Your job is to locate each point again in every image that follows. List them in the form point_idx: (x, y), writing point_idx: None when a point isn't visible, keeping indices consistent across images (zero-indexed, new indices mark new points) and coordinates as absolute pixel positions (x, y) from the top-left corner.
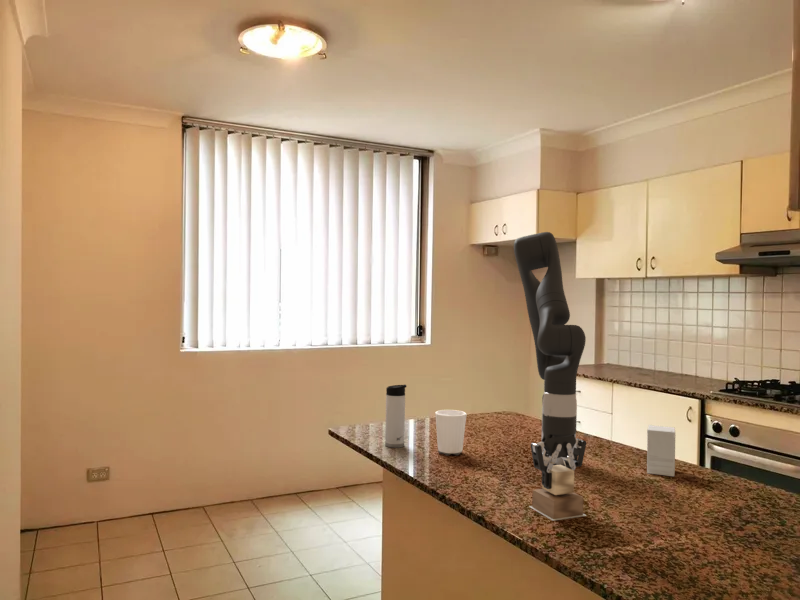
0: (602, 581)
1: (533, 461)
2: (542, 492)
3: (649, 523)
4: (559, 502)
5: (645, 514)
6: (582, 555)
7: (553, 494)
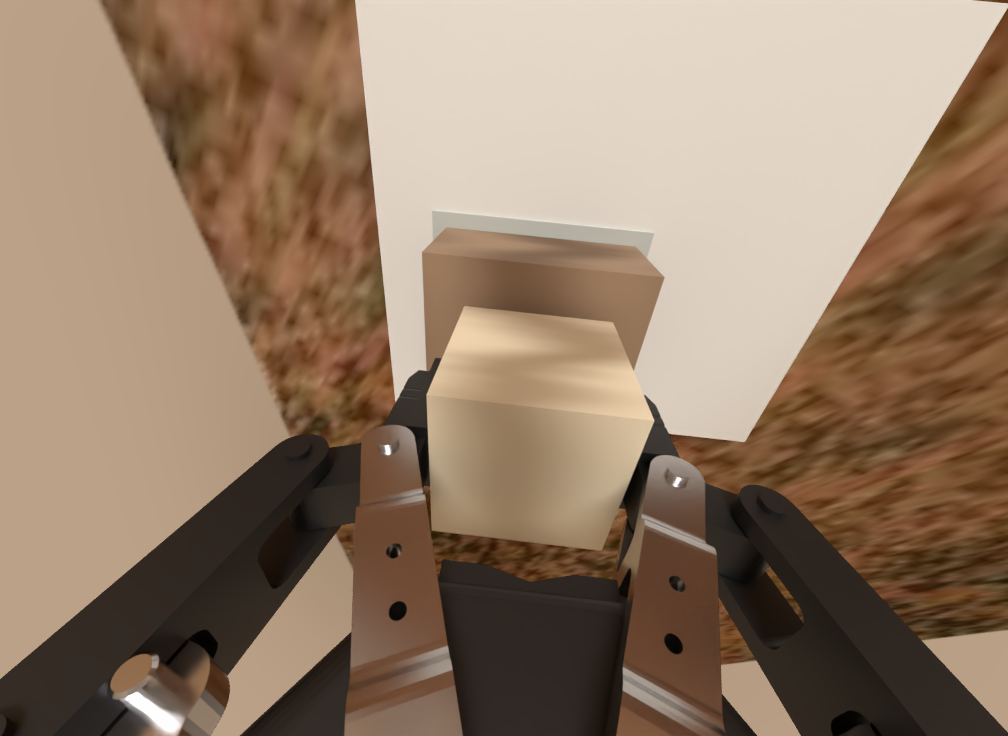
0: None
1: (233, 486)
2: (452, 321)
3: None
4: None
5: (857, 442)
6: None
7: None
